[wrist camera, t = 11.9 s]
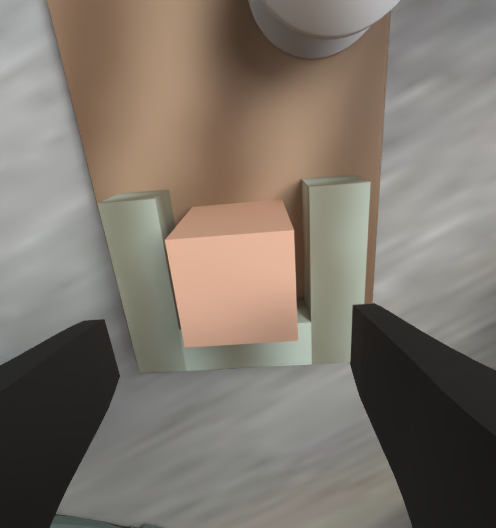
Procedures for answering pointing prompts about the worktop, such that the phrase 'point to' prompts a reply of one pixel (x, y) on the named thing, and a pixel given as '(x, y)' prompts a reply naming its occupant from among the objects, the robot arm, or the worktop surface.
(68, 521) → the cutlery set
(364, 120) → the notched board
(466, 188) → the worktop surface
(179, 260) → the block
